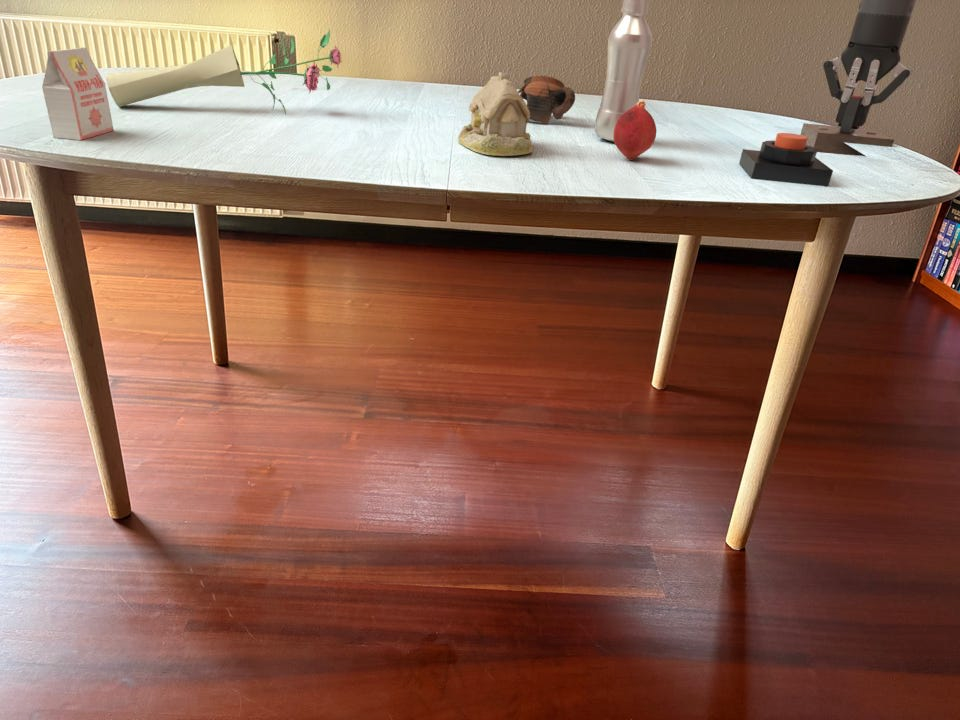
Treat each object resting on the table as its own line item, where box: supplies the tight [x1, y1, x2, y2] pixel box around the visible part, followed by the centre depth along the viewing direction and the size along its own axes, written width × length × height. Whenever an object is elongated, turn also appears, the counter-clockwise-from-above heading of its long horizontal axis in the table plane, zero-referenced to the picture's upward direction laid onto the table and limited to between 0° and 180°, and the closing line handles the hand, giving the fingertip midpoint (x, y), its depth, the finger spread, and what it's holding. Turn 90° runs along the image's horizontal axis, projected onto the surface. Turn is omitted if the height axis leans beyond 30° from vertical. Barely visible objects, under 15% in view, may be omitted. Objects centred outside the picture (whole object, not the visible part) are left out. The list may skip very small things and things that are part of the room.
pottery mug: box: [517, 75, 576, 125], centre depth 120 cm, size 12×10×8 cm
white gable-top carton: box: [41, 47, 114, 141], centre depth 86 cm, size 4×7×10 cm, turn 172°
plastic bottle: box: [594, 0, 654, 143], centre depth 104 cm, size 6×7×20 cm
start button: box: [774, 132, 808, 150], centre depth 93 cm, size 4×4×2 cm
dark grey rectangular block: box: [840, 94, 864, 133], centre depth 114 cm, size 5×2×6 cm, turn 143°
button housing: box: [738, 140, 834, 188], centre depth 94 cm, size 10×9×4 cm
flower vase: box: [105, 29, 343, 116], centre depth 108 cm, size 12×12×35 cm
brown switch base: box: [799, 122, 895, 157], centre depth 116 cm, size 12×9×3 cm
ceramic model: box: [457, 71, 534, 157], centre depth 97 cm, size 14×11×10 cm
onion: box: [613, 100, 657, 161], centre depth 95 cm, size 6×6×8 cm
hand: (848, 126), depth 115 cm, fingers closed on dark grey rectangular block
